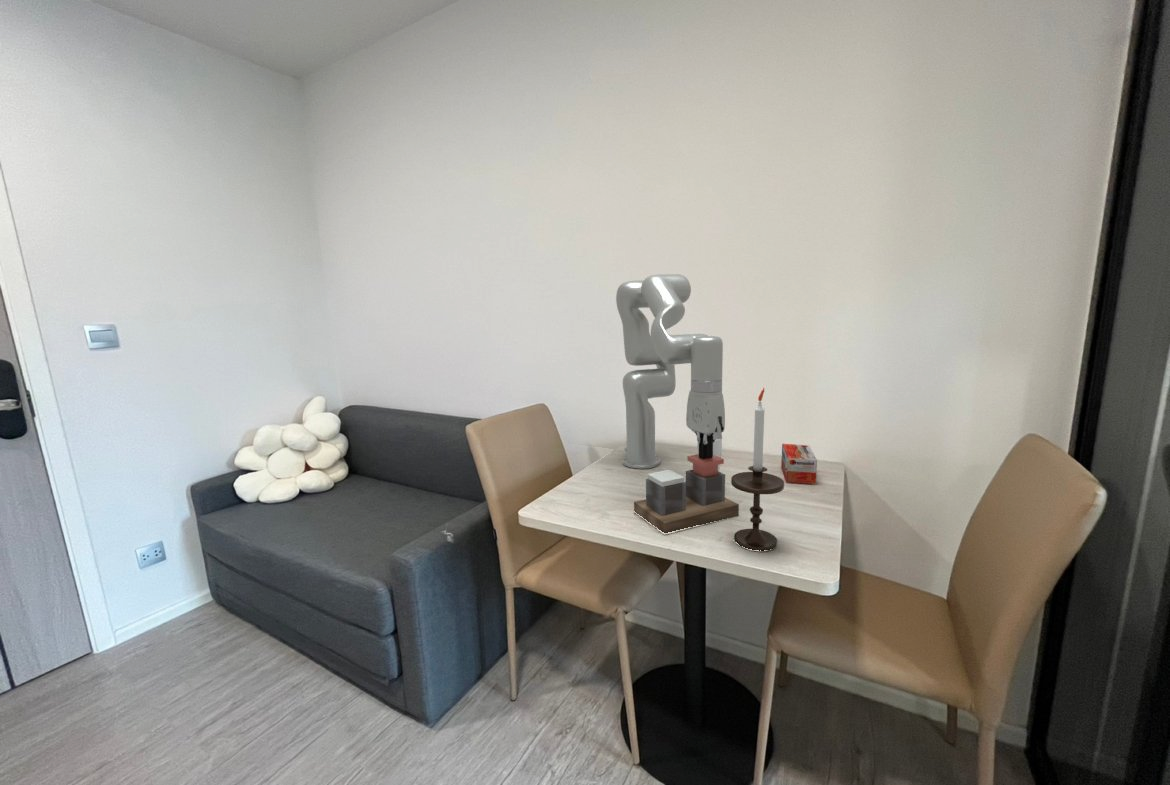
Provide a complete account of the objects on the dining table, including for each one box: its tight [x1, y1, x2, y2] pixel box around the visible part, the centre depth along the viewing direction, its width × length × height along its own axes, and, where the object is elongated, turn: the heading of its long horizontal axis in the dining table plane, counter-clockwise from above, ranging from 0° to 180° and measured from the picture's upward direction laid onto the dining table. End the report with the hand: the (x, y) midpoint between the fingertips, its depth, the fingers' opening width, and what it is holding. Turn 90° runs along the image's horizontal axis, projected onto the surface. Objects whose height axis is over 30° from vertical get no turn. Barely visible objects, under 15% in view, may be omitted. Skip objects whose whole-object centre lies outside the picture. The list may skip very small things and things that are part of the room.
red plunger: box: [686, 453, 725, 477], centre depth 124 cm, size 6×6×8 cm
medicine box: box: [780, 443, 818, 486], centre depth 147 cm, size 15×8×8 cm, turn 164°
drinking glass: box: [696, 438, 723, 472], centre depth 140 cm, size 7×7×15 cm
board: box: [633, 469, 740, 533], centre depth 122 cm, size 14×22×10 cm, turn 115°
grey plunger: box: [647, 469, 685, 487], centre depth 119 cm, size 6×6×8 cm
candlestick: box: [730, 387, 785, 551], centre depth 105 cm, size 11×11×35 cm
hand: (705, 457), depth 123 cm, fingers closed
